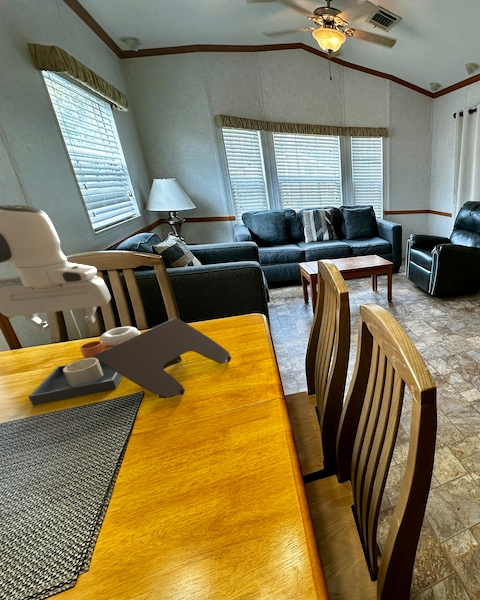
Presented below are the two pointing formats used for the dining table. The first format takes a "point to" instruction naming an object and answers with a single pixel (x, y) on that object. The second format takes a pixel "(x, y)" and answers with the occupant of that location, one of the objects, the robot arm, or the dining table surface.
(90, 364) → the cream bowl
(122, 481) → the dining table surface
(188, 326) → the laptop tray
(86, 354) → the terracotta bowl
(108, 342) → the donut
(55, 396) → the tray
